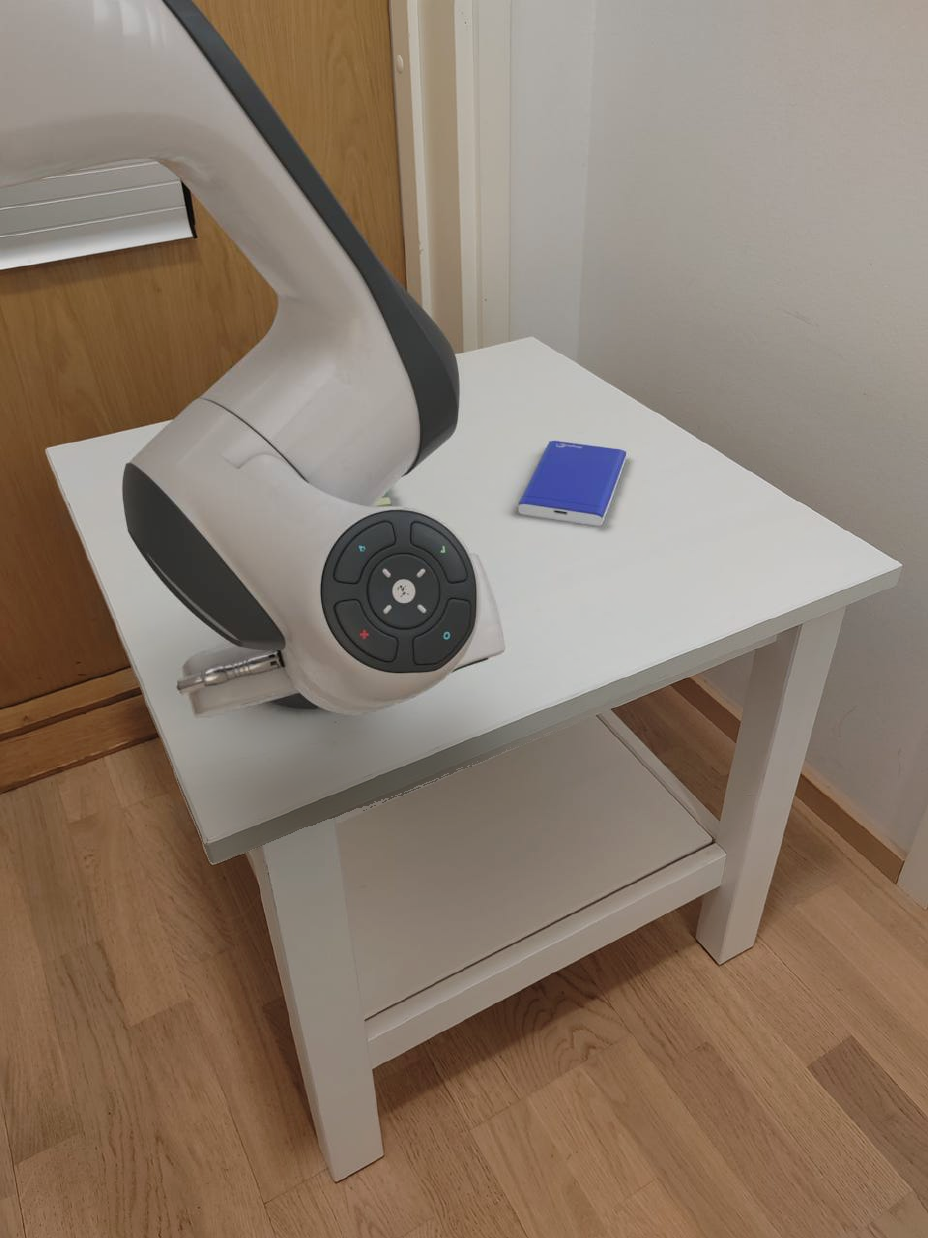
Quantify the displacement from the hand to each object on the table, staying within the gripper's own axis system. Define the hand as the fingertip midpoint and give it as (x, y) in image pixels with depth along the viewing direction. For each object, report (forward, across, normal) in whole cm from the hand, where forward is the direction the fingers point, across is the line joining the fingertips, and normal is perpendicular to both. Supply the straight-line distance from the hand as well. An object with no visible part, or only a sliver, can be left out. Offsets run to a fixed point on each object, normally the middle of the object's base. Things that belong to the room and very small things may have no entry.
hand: (332, 661), depth 68 cm
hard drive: (+19, +30, +12) cm, 37 cm away
